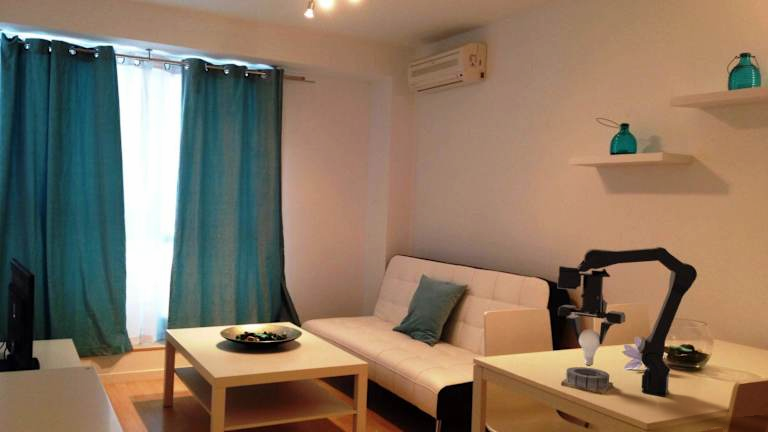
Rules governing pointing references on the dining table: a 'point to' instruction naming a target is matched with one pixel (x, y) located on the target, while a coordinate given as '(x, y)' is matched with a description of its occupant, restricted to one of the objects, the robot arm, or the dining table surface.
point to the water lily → (633, 355)
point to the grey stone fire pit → (587, 379)
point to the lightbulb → (589, 345)
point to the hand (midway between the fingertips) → (589, 342)
